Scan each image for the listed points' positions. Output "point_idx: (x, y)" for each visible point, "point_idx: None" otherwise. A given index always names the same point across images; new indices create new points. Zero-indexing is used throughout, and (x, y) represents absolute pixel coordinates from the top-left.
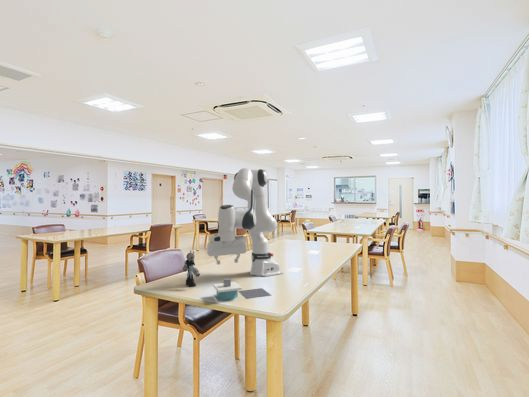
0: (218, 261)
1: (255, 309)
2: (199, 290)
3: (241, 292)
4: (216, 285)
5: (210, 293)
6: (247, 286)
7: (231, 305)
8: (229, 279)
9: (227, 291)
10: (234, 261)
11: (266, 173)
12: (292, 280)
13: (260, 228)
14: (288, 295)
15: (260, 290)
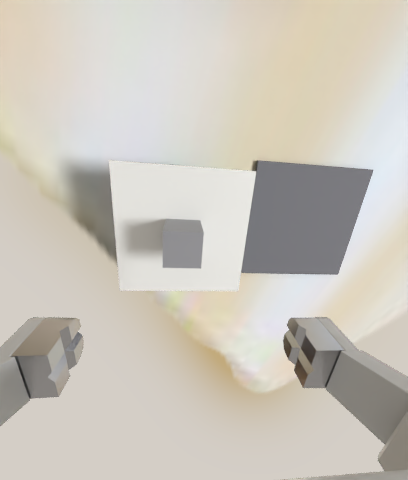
0: (30, 394)
1: (226, 350)
2: (57, 4)
3: (262, 190)
4: (125, 201)
5: (120, 115)
6: (344, 87)
7: (172, 302)
8: (194, 265)
9: None
10: (295, 323)
11: None
12: None
13: None
14: (383, 286)
15: (345, 201)
